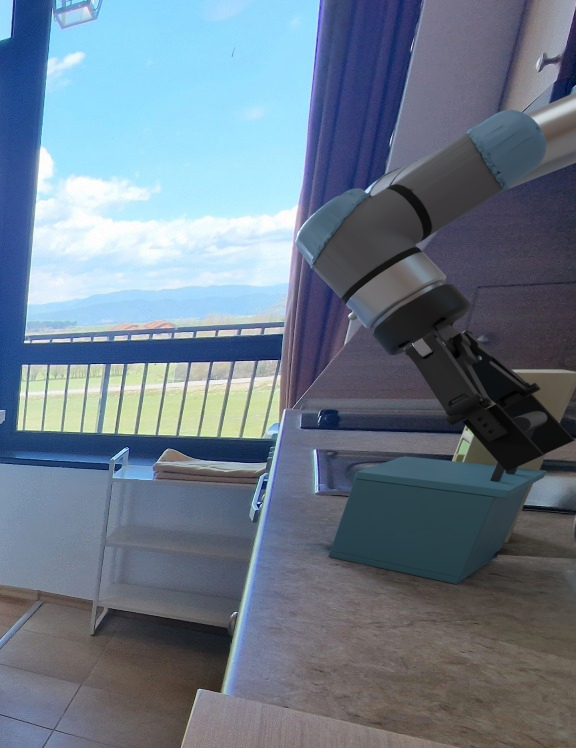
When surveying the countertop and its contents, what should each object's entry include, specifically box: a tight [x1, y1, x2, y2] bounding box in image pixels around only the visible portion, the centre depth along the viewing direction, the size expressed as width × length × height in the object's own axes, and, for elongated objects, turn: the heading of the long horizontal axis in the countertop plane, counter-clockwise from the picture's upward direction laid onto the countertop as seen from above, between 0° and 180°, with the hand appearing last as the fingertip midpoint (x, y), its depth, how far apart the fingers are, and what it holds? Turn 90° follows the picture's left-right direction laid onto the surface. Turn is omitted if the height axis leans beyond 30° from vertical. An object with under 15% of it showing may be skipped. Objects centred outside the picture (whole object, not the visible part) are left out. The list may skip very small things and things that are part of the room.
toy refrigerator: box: [451, 369, 576, 544], centre depth 79 cm, size 8×7×21 cm
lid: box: [354, 411, 547, 498], centre depth 71 cm, size 12×16×8 cm
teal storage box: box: [328, 478, 529, 585], centre depth 75 cm, size 12×16×10 cm
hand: (542, 455), depth 67 cm, fingers open, 13 cm apart
